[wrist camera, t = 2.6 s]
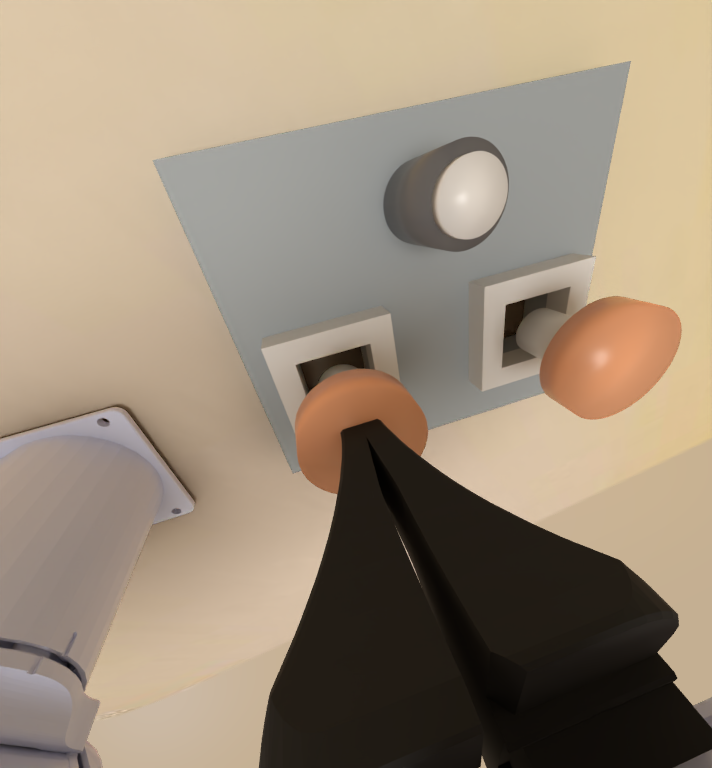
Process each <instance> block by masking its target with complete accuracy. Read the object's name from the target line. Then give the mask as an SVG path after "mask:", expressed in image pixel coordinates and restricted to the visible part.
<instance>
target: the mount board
mask: <svg viewBox="0 0 712 768" xmlns="http://www.w3.org/2000/svg"><path fill="white" fill-rule="evenodd" d="M630 63H631V61H628V62H624V63H619V64H614V65H609V66H604V67H600V68H595V69H590V70H585V71H580V72H575V73H571V74H566V75H561V76H556V77H551V78H547V79H542V80H537V81H532V82H527V83H522V84H518V85H513V86H508V87H503V88H498V89H494V90H489V91H484V92H479V93H474V94H469V95H465V96H460V97H455V98H450V99H445V100H441V101H436V102H431V103H426V104H421V105H416V106H412V107H407V108H402V109H397V110H392V111H388V112H383V113H378V114H373V115H368V116H363V117H359V118H354V119H349V120H344V121H339V122H335V123H330V124H325V125H320V126H315V127H310V128H306V129H301V130H296V131H291V132H286V133H282V134H277V135H272V136H267V137H262V138H257V139H253V140H248V141H243V142H238V143H233V144H228V145H224V146H219V147H214V148H209V149H204V150H200V151H195V152H190V153H185V154H180V155H175V156H171V157H166V158H161V159H156V160H153V162H154V165H155V167H156V169H157V171H158V174H159V176H160V178H161V180H162V182H163V185H164V187H165V189H166V191H167V194H168V196H169V198H170V200H171V203H172V205H173V207H174V209H175V212H176V214H177V216H178V218H179V220H180V223H181V225H182V227H183V229H184V232H185V234H186V236H187V238H188V241H189V243H190V245H191V247H192V249H193V252H194V254H195V256H196V258H197V261H198V263H199V265H200V267H201V270H202V272H203V274H204V276H205V278H206V281H207V283H208V285H209V287H210V290H211V292H212V294H213V296H214V299H215V301H216V303H217V305H218V308H219V310H220V312H221V314H222V316H223V319H224V321H225V323H226V325H227V328H228V330H229V332H230V334H231V337H232V339H233V341H234V343H235V345H236V348H237V350H238V352H239V354H240V357H241V359H242V361H243V363H244V366H245V368H246V370H247V372H248V374H249V377H250V379H251V381H252V383H253V386H254V388H255V390H256V392H257V395H258V397H259V399H260V401H261V403H262V406H263V408H264V410H265V412H266V415H267V417H268V419H269V421H270V424H271V426H272V428H273V430H274V433H275V435H276V437H277V439H278V441H279V444H280V446H281V448H282V450H283V453H284V455H285V457H286V459H287V462H288V464H289V466H290V468H291V470H292V473H296V472H299V471H302V470H301V468H300V466H299V463H298V457H297V448H296V436H295V419H296V414H297V412H298V409H299V407H300V405H301V403H302V401H303V400H304V398H305V397H306V396H307V394H308V393H309V389H308V386H307V384H306V381H305V378H304V375H303V372H302V369H301V366H300V363H304V362H307V361H311V360H314V359H318V358H321V357H325V356H328V355H332V354H335V353H339V352H342V351H346V350H350V349H353V348H357V347H360V348H361V352H362V357H363V362H364V367H365V369H373V370H378V371H382V372H385V373H387V374H389V375H391V376H393V377H394V378H396V379H397V380H398V381H400V382H401V383H402V384H403V386H404V387H405V388H406V389H407V391H408V392H409V393H410V395H411V396H412V397H413V399H414V400H415V401H416V403H417V404H418V405H419V406H420V408H421V409H422V411H423V413H424V415H425V417H426V420H427V425H428V430H430V429H433V428H436V427H439V426H442V425H445V424H448V423H452V422H455V421H458V420H461V419H464V418H467V417H470V416H473V415H477V414H480V413H483V412H486V411H489V410H492V409H495V408H498V407H502V406H505V405H508V404H511V403H514V402H517V401H520V400H523V399H526V398H530V397H533V396H536V395H539V394H542V393H545V392H544V391H543V389H542V387H541V384H540V376H539V374H540V366H541V362H542V360H541V359H539V358H537V357H535V356H534V355H532V354H530V353H528V352H526V351H524V350H522V349H521V348H520V347H519V346H518V345H517V342H516V334H515V335H512V336H509V337H505V338H504V324H505V309H506V305H507V304H511V303H514V302H518V301H521V300H525V303H524V313H523V319H524V318H525V317H526V316H527V315H528V314H529V313H531V312H532V311H534V310H536V309H539V308H549V309H552V310H555V311H558V312H561V313H564V314H567V315H570V316H573V315H574V314H575V313H576V312H578V311H579V310H580V309H582V308H584V307H585V306H586V303H587V298H588V293H589V289H590V284H591V279H592V274H593V269H594V264H595V260H596V256H592V253H593V248H594V243H595V238H596V233H597V228H598V223H599V218H600V213H601V208H602V203H603V198H604V193H605V188H606V183H607V178H608V173H609V168H610V163H611V158H612V153H613V148H614V143H615V138H616V133H617V128H618V123H619V118H620V113H621V108H622V103H623V98H624V93H625V88H626V83H627V78H628V73H629V68H630ZM470 136H471V137H480V138H483V139H485V140H488V141H489V142H491V143H492V144H493V145H494V146H495V147H496V148H497V149H498V150H499V151H500V153H501V154H502V156H503V158H504V160H505V163H506V166H507V170H508V176H509V192H508V198H507V203H506V206H505V210H504V212H503V215H502V217H501V219H500V221H499V223H498V224H497V226H496V227H495V229H494V230H493V231H492V233H491V234H490V235H489V236H488V237H487V238H486V239H485V240H484V241H483V242H481V243H480V244H479V245H477V246H475V247H473V248H471V249H469V250H466V251H461V252H451V251H445V250H440V249H435V248H430V247H424V246H419V245H414V244H409V243H406V242H403V241H401V240H400V239H398V238H397V237H396V236H395V235H394V234H393V233H392V232H391V230H390V229H389V227H388V225H387V223H386V220H385V216H384V209H383V201H384V194H385V190H386V187H387V184H388V182H389V180H390V178H391V176H392V175H393V173H394V172H395V171H396V170H397V169H398V168H399V167H400V166H401V165H402V164H404V163H405V162H407V161H409V160H411V159H413V158H416V157H418V156H420V155H423V154H425V153H427V152H430V151H432V150H434V149H437V148H439V147H441V146H443V145H446V144H448V143H450V142H453V141H455V140H457V139H460V138H464V137H470Z"/></svg>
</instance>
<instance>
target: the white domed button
mask: <svg viewBox="0 0 712 768" xmlns="http://www.w3.org/2000/svg"><path fill="white" fill-rule="evenodd" d="M508 192H509V176H508V170H507V166H506V163H505V160H504V158H503V156H502V154H501V153H500V151H499V150H498V149H497V148H496V147H495V146H494V145H493V144H492V143H491V142H489V141H488V140H485V139H483V138H480V137H471V136H470V137H464V138H460V139H457V140H455V141H453V142H450V143H448V144H446V145H443V146H441V147H439V148H437V149H434V150H432V151H430V152H427V153H425V154H423V155H420V156H418V157H416V158H413V159H411V160H409V161H407V162H405V163H404V164H402V165H401V166H400V167H399V168H398V169H397V170H396V171H395V172H394V173H393V175H392V176H391V178H390V180H389V182H388V184H387V187H386V190H385V194H384V201H383V209H384V216H385V220H386V223H387V225H388V227H389V229H390V230H391V232H392V233H393V234H394V235H395V236H396V237H397V238H398V239H400V240H401V241H403V242H406V243H409V244H414V245H419V246H424V247H430V248H435V249H440V250H445V251H451V252H461V251H466V250H469V249H471V248H473V247H475V246H477V245H479V244H480V243H481V242H483V241H484V240H485V239H486V238H487V237H488V236H489V235H490V234H491V233H492V231H493V230H494V229H495V227H496V226H497V224H498V223H499V221H500V219H501V217H502V215H503V212H504V210H505V206H506V203H507V198H508Z"/></svg>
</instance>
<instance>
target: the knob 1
mask: <svg viewBox="0 0 712 768" xmlns="http://www.w3.org/2000/svg"><path fill="white" fill-rule="evenodd" d="M375 419H379V420H381V421H382V422H383V423H384V424H385V425H386V426H387V428H388V429H389V430H390V431H392V432H393V433H394V434H395V435H396V436H397V437H398V438H399V439H400V440H401V441H402V442H403V443H405V444H406V445H407V446H408V447H409V448H410V449H412V450H413V451H414V452H415V453H417V454H418V455H419V456H421V454H422V452H423V450H424V448H425V445H426V442H427V436H428V425H427V420H426V417H425V415H424V413H423V411H422V409H421V408H420V406H419V405H418V404H417V403H416V401H415V400H414V399H413V397H412V396H411V395H410V393H409V392H408V391H407V389H406V388H405V387H404V386H403V384H402V383H401V382H400V381H398V380H397V379H396V378H394V377H393V376H391V375H389V374H387V373H385V372H382V371H378V370H373V369H357V368H356V367H354V366H352V365H348V364H339V365H335V366H333V367H330V368H329V369H327V370H326V371H325V372H324V373H323V374H322V376H321V377H320V380H319V383H318V385H317V386H315V387H314V388H313V389H312V390H311V391H310V392H309V393H308V394H307V396H306V397H305V398H304V400H303V401H302V403H301V405H300V407H299V409H298V412H297V414H296V419H295V436H296V448H297V457H298V463H299V466H300V468H301V470H302V472H303V474H304V475H305V476H306V478H307V479H308V480H309V481H310V482H311V483H312V484H314V485H315V486H317V487H318V488H321V489H323V490H325V491H328V492H331V493H335V494H338V488H339V482H340V472H341V461H342V441H341V434H340V433H341V431H342V430H343V429H346V428H349V427H353V426H356V425H359V424H362V423H365V422H369V421H372V420H375Z"/></svg>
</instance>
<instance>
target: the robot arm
mask: <svg viewBox="0 0 712 768" xmlns="http://www.w3.org/2000/svg"><path fill="white" fill-rule="evenodd" d="M101 418H105V419H107V420H109V422H105V421H103V420H102V419H101ZM340 434H341V441H342V461H341V472H340V482H339V488H338V494H337V500H336V506H335V511H334V516H333V520H332V525H331V529H330V533H329V537H328V540H327V544H326V547H325V551H324V554H323V558H322V561H321V564H320V568H319V571H318V574H317V577H316V580H315V583H314V585H313V588H312V591H311V594H310V596H309V599H308V602H307V604H306V607H305V610H304V613H303V615H302V618H301V621H300V623H299V626H298V628H297V631H296V633H295V636H294V638H293V640H292V643H291V645H290V648H289V650H288V652H287V654H286V657H285V659H284V662H283V664H282V666H281V669H280V671H279V673H278V675H277V678H276V680H275V682H274V685H273V687H272V689H271V692H270V695H269V700H268V705H267V711H266V717H265V722H264V729H263V736H262V743H261V753H260V762H259V768H479V767H480V766H481V756H483V759H484V762H485V765H486V767H487V768H712V697H711V698H709V699H707V700H705V701H703V702H700V703H698V704H696V705H694V706H693V705H692V704H691V703H690V702H689V701H688V699H687V698H686V697H685V696H684V695H683V694H682V692H681V691H680V690H679V689H678V688H677V686H676V685H675V684H674V683H673V681H675V680H676V679H677V677H676V675H675V672H674V671H673V670H672V669H671V668H670V667H669V666H668V664H667V663H666V662H665V661H664V660H663V659H662V657H661V656H660V655H659V654H658V653H657V652H658V651H659V650H660V648H661V647H662V646H663V645H664V644H665V643H666V642H667V640H668V639H669V638H670V637H671V636H672V635H673V634H674V632H675V631H676V629H677V628H678V626H679V620H678V614H677V613H676V612H675V611H674V610H673V609H672V608H671V607H670V606H669V605H668V604H667V603H666V602H665V601H664V600H663V599H662V598H661V597H660V596H659V595H658V594H657V593H656V592H655V591H654V590H653V589H652V588H651V587H650V586H649V585H648V584H647V583H646V582H645V581H644V580H642V579H641V578H640V577H639V576H638V575H636V574H635V573H634V572H633V571H632V570H631V569H629V568H628V567H627V566H626V565H625V564H624V563H623V562H622V561H620V560H618V559H615V558H613V557H610V556H608V555H605V554H603V553H600V552H598V551H595V550H593V549H590V548H588V547H585V546H583V545H580V544H577V543H575V542H572V541H570V540H568V539H565V538H563V537H560V536H558V535H556V534H554V533H552V532H549V531H547V530H545V529H543V528H540V527H538V526H536V525H534V524H532V523H530V522H528V521H526V520H524V519H522V518H520V517H518V516H516V515H514V514H512V513H510V512H508V511H506V510H504V509H502V508H500V507H498V506H496V505H494V504H492V503H490V502H489V501H487V500H485V499H483V498H482V497H480V496H478V495H476V494H475V493H473V492H471V491H470V490H468V489H466V488H465V487H463V486H461V485H460V484H458V483H457V482H455V481H454V480H452V479H451V478H449V477H448V476H446V475H445V474H443V473H442V472H440V471H439V470H438V469H436V468H435V467H433V466H432V465H431V464H429V463H428V462H427V461H425V460H424V459H423V458H421V457H420V456H419V455H418V454H417V453H415V452H414V451H413V450H412V449H410V448H409V447H408V446H407V445H406V444H405V443H403V442H402V441H401V440H400V439H399V438H398V437H397V436H396V435H395V434H394V433H393V432H392V431H390V430H389V429H388V428H387V426H386V425H385V424H384V423H383V422H382V421H381V420H379V419H375V420H372V421H369V422H365V423H362V424H359V425H356V426H353V427H349V428H346V429H343V430H342V431H341V433H340ZM194 506H195V502H194V500H193V499H192V498H191V496H190V495H189V494H188V492H187V491H186V490H185V488H184V487H183V486H182V484H181V483H180V482H179V480H178V479H177V478H176V476H175V475H174V474H173V472H172V471H171V470H170V468H169V467H168V466H167V464H166V463H165V462H164V460H163V459H162V458H161V456H160V455H159V454H158V452H157V451H156V450H155V448H154V447H153V446H152V444H151V443H150V442H149V440H148V439H147V438H146V436H145V435H144V434H143V432H142V431H141V430H140V428H139V427H138V426H137V424H136V423H135V422H134V420H133V419H132V418H131V416H130V415H129V414H128V412H127V411H126V410H124V409H122V408H119V407H111V408H108V409H104V410H101V411H97V412H93V413H90V414H86V415H83V416H79V417H76V418H72V419H69V420H65V421H61V422H58V423H54V424H51V425H47V426H44V427H40V428H37V429H33V430H30V431H26V432H22V433H19V434H15V435H12V436H8V437H5V438H1V439H0V768H103V767H102V761H101V758H100V756H99V754H98V752H97V750H96V749H95V748H94V747H93V746H92V745H91V744H90V743H89V742H88V741H87V738H88V735H89V733H90V730H91V727H92V724H93V722H94V719H95V716H96V713H97V711H98V708H99V705H100V701H99V700H96V699H93V698H91V697H89V696H87V695H86V694H85V693H84V691H85V689H86V686H87V684H88V681H89V679H90V676H91V674H92V672H93V669H94V667H95V664H96V662H97V659H98V657H99V654H100V652H101V649H102V647H103V644H104V642H105V639H106V637H107V635H108V632H109V630H110V627H111V625H112V622H113V620H114V617H115V615H116V612H117V610H118V607H119V605H120V602H121V600H122V597H123V595H124V593H125V590H126V588H127V585H128V583H129V580H130V578H131V575H132V573H133V570H134V568H135V565H136V563H137V560H138V558H139V555H140V553H141V551H142V548H143V546H144V543H145V541H146V538H147V536H148V533H149V531H150V528H151V526H152V525H153V524H156V523H159V522H162V521H166V520H169V519H172V518H175V517H178V516H181V515H184V514H187V513H190V512H192V511H193V510H194ZM176 508H178V509H176ZM395 526H396V527H395ZM396 528H397V529H396ZM398 533H399V534H398ZM399 535H400V536H399ZM400 537H401V539H402V541H403V543H404V545H405V548H406V550H407V552H408V554H409V556H410V559H411V561H412V563H413V566H414V568H415V571H416V573H417V576H418V578H417V576H416V573H415V571H414V569H413V566H412V564H411V562H410V560H409V557H408V555H407V553H406V550H405V548H404V546H403V543H402V541H401V539H400ZM418 579H419V580H418ZM419 581H420V583H419ZM420 584H421V585H420Z"/></svg>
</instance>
